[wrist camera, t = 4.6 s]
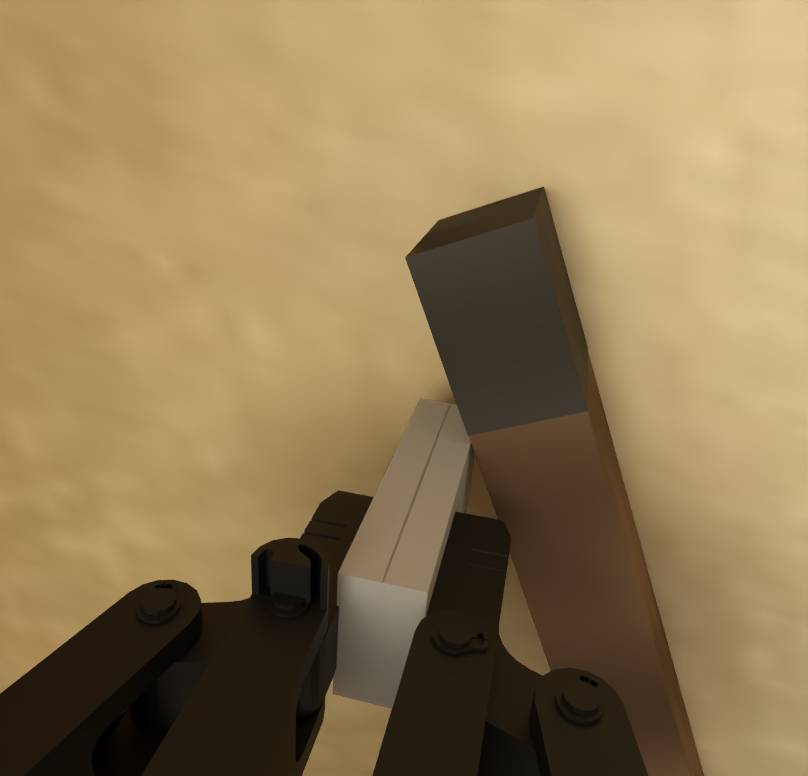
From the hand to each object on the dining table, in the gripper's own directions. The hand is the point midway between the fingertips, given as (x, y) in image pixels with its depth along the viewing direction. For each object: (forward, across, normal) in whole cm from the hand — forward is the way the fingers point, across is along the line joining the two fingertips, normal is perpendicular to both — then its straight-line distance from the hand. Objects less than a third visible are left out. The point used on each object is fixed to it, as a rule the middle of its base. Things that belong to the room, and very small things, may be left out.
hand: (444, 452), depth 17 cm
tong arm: (+2, -5, +5) cm, 8 cm away
